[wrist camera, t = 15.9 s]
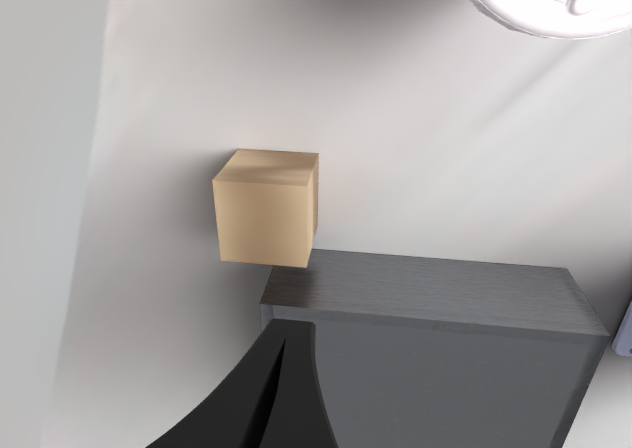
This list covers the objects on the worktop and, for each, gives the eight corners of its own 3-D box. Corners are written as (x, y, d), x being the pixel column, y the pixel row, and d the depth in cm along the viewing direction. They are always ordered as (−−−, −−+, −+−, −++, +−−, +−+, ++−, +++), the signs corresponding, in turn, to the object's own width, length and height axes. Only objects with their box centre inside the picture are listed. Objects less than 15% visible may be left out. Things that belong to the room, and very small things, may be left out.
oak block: (318, 153, 22) (306, 186, 18) (317, 225, 24) (306, 267, 20) (238, 149, 22) (212, 180, 19) (243, 220, 24) (220, 260, 21)
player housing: (566, 268, 23) (610, 336, 19) (514, 422, 29) (538, 501, 24) (280, 246, 25) (259, 303, 20) (285, 397, 30) (269, 466, 26)
